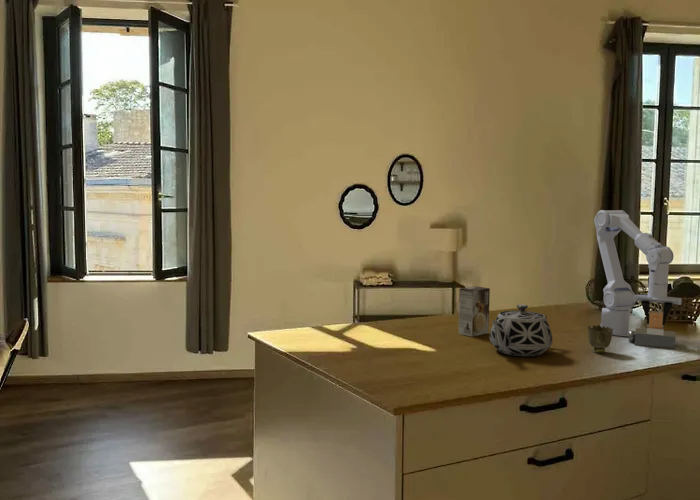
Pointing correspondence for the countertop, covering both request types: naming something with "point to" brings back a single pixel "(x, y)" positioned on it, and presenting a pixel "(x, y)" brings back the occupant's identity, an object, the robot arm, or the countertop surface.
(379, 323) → the countertop surface
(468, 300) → the coffee box
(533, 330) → the patterned lidded jar
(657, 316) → the tan single stud brick
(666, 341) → the grey plate with rails
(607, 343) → the cup
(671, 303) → the robot arm
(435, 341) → the countertop surface
